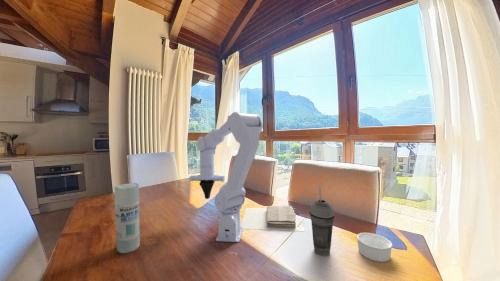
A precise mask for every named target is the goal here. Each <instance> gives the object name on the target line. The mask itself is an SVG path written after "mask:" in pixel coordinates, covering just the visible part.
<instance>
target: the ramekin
mask: <svg viewBox="0 0 500 281" xmlns="http://www.w3.org/2000/svg"><path fill="white" fill-rule="evenodd" d="M356 240H357V247H358V252H359V253H360V254H361V255H362V256H363V257H365V258H367V259H368V260H371V261H373V262H379V263H380V262H381V263H383V262H388V261H390V259H391V258H392V257H391V256H392V249H393V243H392V241H391V240H389V239H388V238H386V237H385V236H382V235H379V234H376V233H372V232H360V233H358V234H357V235H356Z"/></svg>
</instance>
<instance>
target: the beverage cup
mask: <svg viewBox="0 0 500 281" xmlns="http://www.w3.org/2000/svg"><path fill="white" fill-rule="evenodd" d="M318 196H319V199H318V200H315V201H314V202H313V203H312V204H311V206H310V209H309V216H310V221H311V232H312V243H313V250H314V253H316V254H317V255H319V256H321V257H325V256H329V255H330V253H331V247H332V238H333V237H332V236H333V228H334V227H333V226H334V221H335V217H336V214H335V211H334V208H333V205H332V204H330V202H328V201H326V200H323V199H322V189H321V185H320V184H319V185H318Z"/></svg>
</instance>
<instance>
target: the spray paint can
mask: <svg viewBox="0 0 500 281" xmlns="http://www.w3.org/2000/svg"><path fill="white" fill-rule="evenodd" d="M113 189H114V190H113V191H114V213H115V215H114V216H115V234H116V235H115V236H116V238H115V239H116V251H117V253H119V254H128V253H130V252H133V251H135V250H137V249H138V248H139V247H140V243H141V236H140V235H141V234H140V192H139V191H140V190H139V189H140V186H139V184H138V183H135V182H133V183H124V184H119V185H116V186H115V187H114V188H113Z"/></svg>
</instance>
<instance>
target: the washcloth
mask: <svg viewBox="0 0 500 281" xmlns="http://www.w3.org/2000/svg"><path fill="white" fill-rule="evenodd" d="M266 208H267V227H287V228H293V227H296V222H295V221H296V215H295V213H294V210H293V209H294V208H293V206H291V205H281V206H280V205H279V206H278V205H267V206H266Z"/></svg>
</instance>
